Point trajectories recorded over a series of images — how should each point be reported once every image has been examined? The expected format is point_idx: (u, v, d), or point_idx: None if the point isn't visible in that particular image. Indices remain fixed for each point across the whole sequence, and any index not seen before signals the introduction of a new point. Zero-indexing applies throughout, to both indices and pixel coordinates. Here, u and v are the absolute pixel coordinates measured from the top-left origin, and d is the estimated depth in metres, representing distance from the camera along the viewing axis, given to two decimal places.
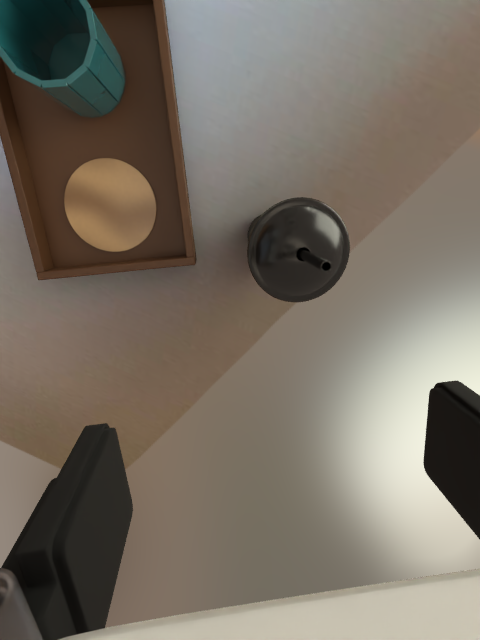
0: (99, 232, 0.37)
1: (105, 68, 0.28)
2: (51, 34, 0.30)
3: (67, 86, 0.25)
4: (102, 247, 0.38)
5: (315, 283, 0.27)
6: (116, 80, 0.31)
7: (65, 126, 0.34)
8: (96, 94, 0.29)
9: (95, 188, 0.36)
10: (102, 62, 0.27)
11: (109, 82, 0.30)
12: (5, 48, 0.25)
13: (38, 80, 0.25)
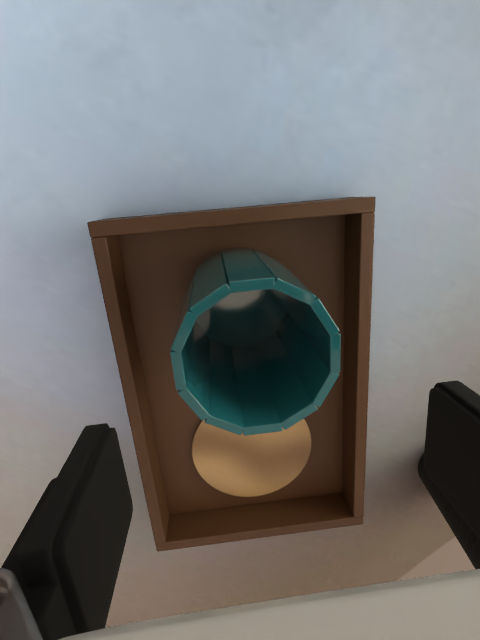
0: (233, 477, 0.28)
1: None
2: None
3: None
4: (234, 492, 0.28)
5: None
6: None
7: None
8: None
9: None
10: None
11: None
12: (187, 377, 0.16)
13: (239, 427, 0.16)
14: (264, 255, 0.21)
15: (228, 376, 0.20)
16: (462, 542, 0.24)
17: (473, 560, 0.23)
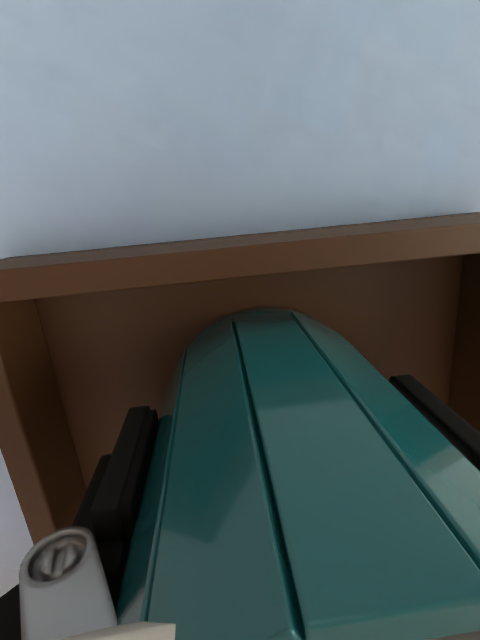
0: None
1: None
2: None
3: None
4: None
5: None
6: None
7: None
8: None
9: None
10: None
11: None
12: None
13: None
14: (321, 332, 0.10)
15: None
16: None
17: None
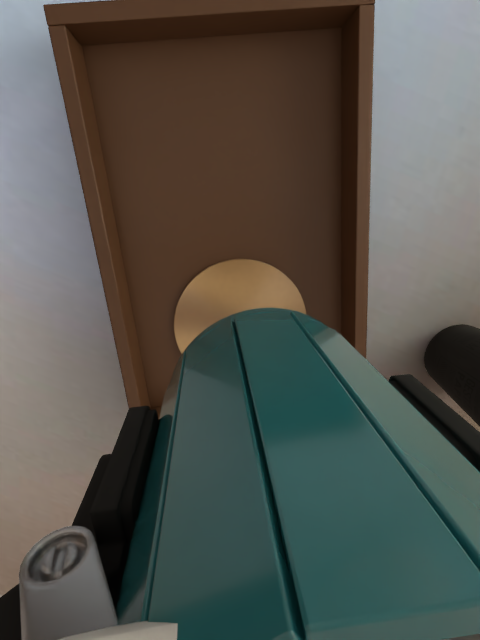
0: None
1: None
2: None
3: None
4: None
5: None
6: None
7: (184, 214, 0.22)
8: None
9: (221, 302, 0.24)
10: None
11: None
12: None
13: None
14: (321, 332, 0.10)
15: None
16: (476, 411, 0.21)
17: None
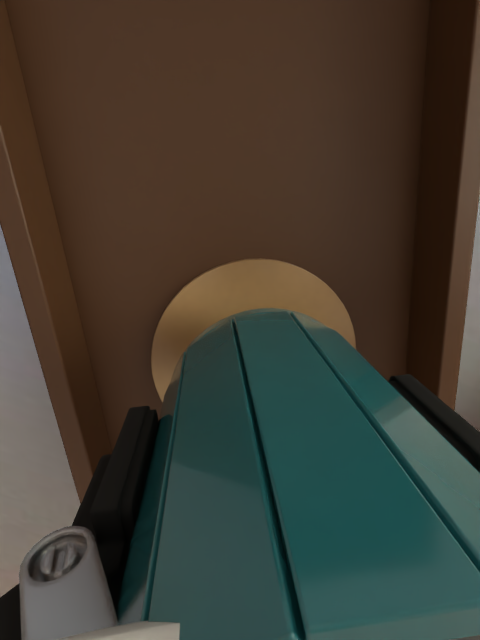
0: None
1: None
2: None
3: None
4: None
5: None
6: None
7: (165, 185, 0.14)
8: None
9: None
10: None
11: None
12: None
13: None
14: (321, 332, 0.10)
15: None
16: None
17: None
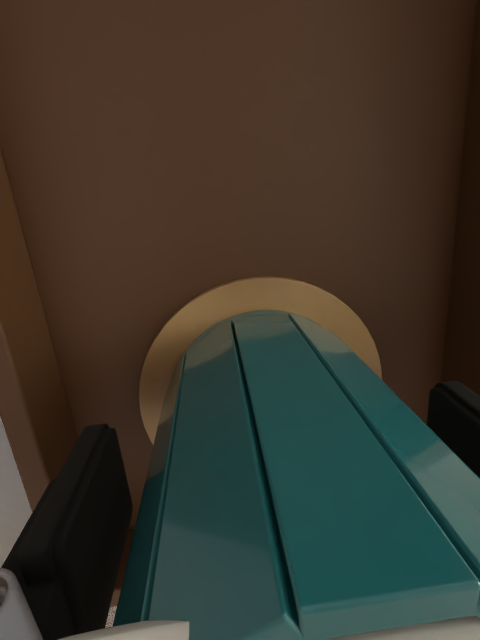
0: None
1: None
2: None
3: None
4: None
5: None
6: None
7: (154, 189, 0.11)
8: None
9: None
10: None
11: None
12: None
13: None
14: (318, 334, 0.11)
15: None
16: None
17: None
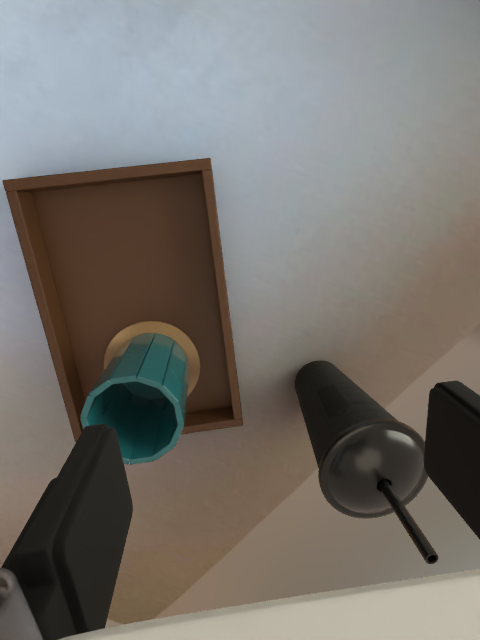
0: None
1: None
2: None
3: (153, 459, 0.27)
4: None
5: None
6: None
7: (106, 292, 0.32)
8: None
9: None
10: None
11: None
12: None
13: (126, 459, 0.26)
14: (161, 341, 0.32)
15: (134, 423, 0.30)
16: (306, 425, 0.31)
17: None
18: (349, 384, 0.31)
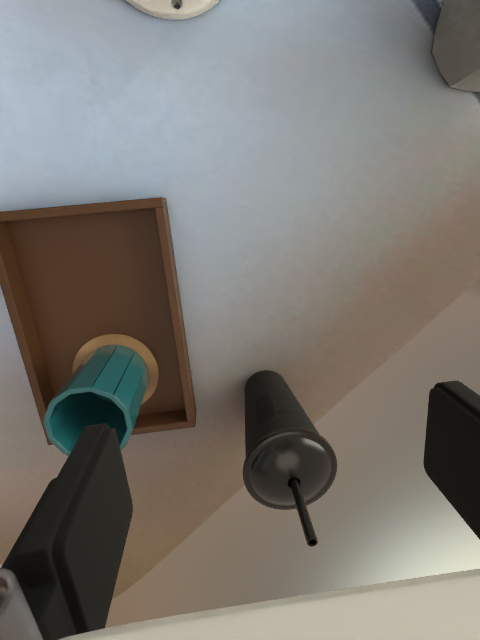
0: None
1: None
2: None
3: None
4: None
5: (305, 499, 0.29)
6: None
7: (74, 308, 0.37)
8: None
9: None
10: None
11: None
12: (57, 431, 0.31)
13: None
14: (121, 353, 0.36)
15: (95, 424, 0.35)
16: None
17: None
18: (283, 394, 0.35)
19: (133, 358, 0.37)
